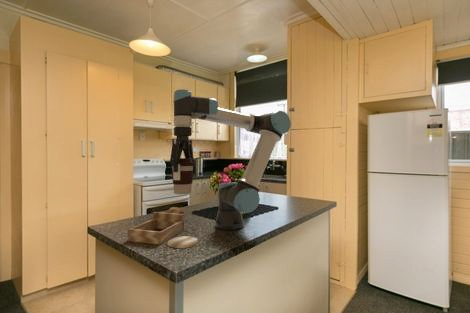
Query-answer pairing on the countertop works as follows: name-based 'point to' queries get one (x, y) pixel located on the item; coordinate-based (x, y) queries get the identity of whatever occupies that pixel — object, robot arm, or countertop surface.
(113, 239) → the countertop surface
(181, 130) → the robot arm
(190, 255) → the countertop surface
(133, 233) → the open wooden box
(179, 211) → the bread roll
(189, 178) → the coffee cup
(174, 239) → the disc
